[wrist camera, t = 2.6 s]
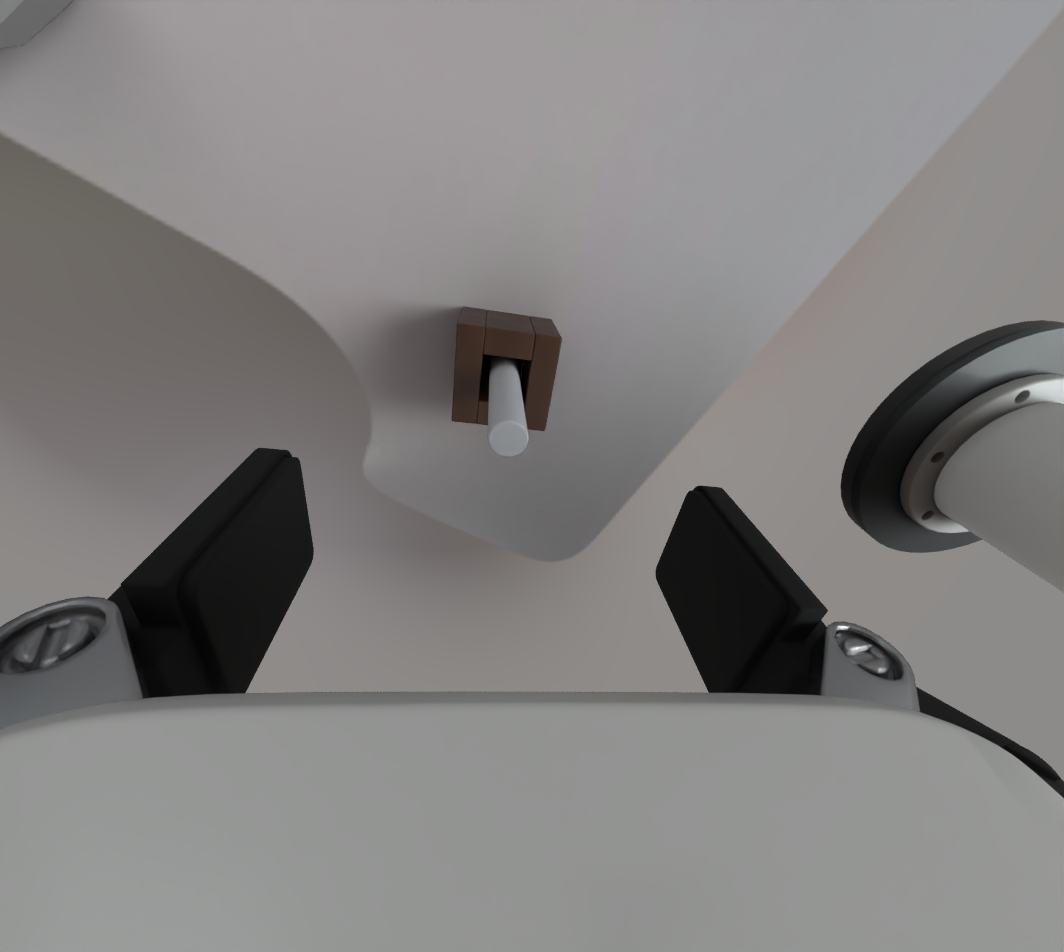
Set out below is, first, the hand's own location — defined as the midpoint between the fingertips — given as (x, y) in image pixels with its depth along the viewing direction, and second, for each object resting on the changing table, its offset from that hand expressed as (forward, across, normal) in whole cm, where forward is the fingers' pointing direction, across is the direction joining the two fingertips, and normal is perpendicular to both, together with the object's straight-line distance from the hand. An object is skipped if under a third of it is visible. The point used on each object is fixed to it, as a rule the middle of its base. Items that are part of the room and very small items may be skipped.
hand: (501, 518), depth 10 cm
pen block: (+14, 0, 0) cm, 15 cm away
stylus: (+14, 0, 0) cm, 15 cm away
